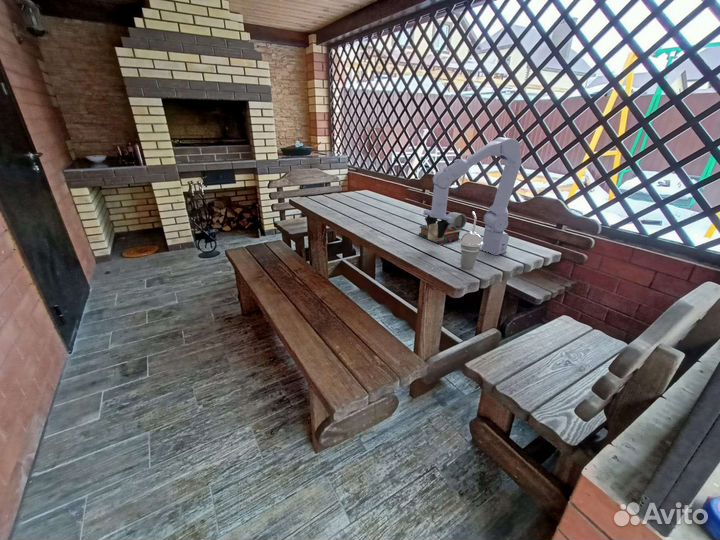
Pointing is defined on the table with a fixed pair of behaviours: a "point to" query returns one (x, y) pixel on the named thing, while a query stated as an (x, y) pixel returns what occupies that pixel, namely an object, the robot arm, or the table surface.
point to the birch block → (434, 233)
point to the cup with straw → (470, 247)
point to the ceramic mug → (457, 220)
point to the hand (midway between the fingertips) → (435, 235)
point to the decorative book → (448, 235)
